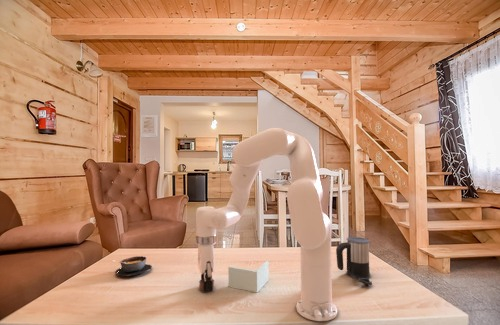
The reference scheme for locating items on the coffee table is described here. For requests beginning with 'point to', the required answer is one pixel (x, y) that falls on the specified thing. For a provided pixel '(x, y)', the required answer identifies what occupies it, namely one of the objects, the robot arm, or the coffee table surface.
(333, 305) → the robot arm
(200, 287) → the brown cylinder
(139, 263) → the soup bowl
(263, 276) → the right angle wall
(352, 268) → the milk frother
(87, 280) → the coffee table surface
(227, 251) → the coffee table surface
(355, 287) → the coffee table surface
